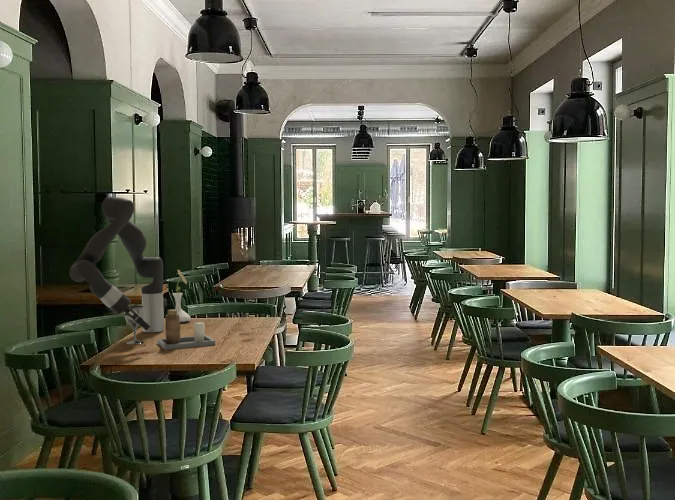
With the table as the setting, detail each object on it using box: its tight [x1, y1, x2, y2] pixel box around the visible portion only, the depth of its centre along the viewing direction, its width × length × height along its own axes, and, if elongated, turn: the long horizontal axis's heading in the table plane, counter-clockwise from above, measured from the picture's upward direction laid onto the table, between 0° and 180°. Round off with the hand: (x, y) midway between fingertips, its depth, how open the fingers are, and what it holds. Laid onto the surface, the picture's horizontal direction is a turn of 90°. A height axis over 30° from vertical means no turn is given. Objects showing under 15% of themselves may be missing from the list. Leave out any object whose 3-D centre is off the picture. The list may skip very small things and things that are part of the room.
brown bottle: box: [164, 309, 181, 345], centre depth 295 cm, size 6×6×14 cm
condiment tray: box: [156, 334, 216, 351], centre depth 297 cm, size 14×20×2 cm
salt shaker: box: [193, 321, 206, 342], centre depth 300 cm, size 4×4×8 cm
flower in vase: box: [172, 269, 192, 323], centre depth 358 cm, size 13×11×25 cm
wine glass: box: [123, 304, 145, 345], centre depth 306 cm, size 8×8×15 cm
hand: (146, 326), depth 290 cm, fingers open, 8 cm apart
